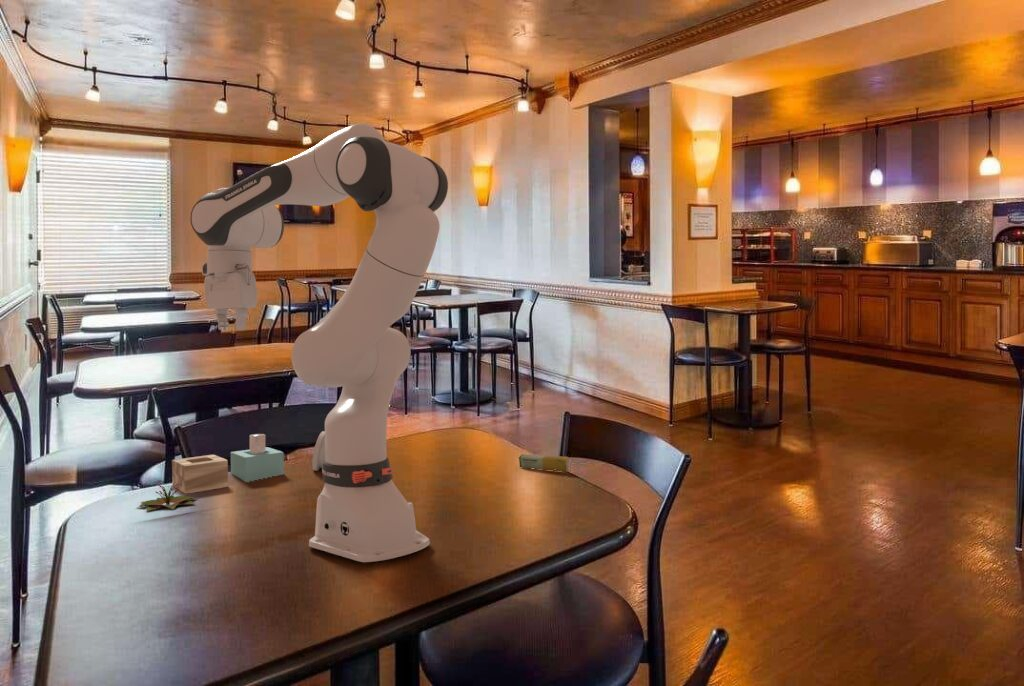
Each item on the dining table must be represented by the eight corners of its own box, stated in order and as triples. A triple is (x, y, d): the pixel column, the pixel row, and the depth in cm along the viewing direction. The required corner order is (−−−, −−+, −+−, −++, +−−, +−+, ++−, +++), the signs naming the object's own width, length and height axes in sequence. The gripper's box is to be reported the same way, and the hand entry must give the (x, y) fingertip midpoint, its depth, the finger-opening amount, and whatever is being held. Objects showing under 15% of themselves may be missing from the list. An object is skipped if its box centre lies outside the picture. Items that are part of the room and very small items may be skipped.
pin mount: (228, 486, 155) (227, 460, 155) (185, 493, 149) (185, 466, 149) (213, 479, 162) (213, 454, 161) (172, 486, 156) (171, 460, 155)
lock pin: (267, 473, 164) (268, 435, 164) (253, 475, 161) (253, 436, 161) (261, 470, 166) (261, 433, 166) (247, 472, 164) (247, 434, 164)
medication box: (519, 473, 168) (518, 456, 167) (523, 469, 170) (522, 453, 170) (566, 475, 163) (565, 459, 163) (569, 472, 166) (568, 455, 165)
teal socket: (283, 477, 164) (283, 452, 164) (245, 483, 158) (245, 457, 157) (268, 471, 170) (267, 447, 170) (231, 477, 164) (230, 452, 164)
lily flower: (138, 517, 132) (137, 494, 132) (131, 504, 142) (130, 482, 142) (205, 507, 139) (205, 485, 139) (194, 495, 149) (193, 474, 149)
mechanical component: (321, 466, 174) (327, 427, 174) (338, 469, 174) (344, 430, 174) (308, 475, 164) (314, 434, 164) (326, 478, 164) (333, 437, 164)
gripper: (264, 263, 143) (265, 330, 144) (227, 268, 158) (228, 329, 159) (233, 261, 139) (235, 330, 140) (198, 267, 154) (200, 329, 155)
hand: (231, 330), depth 149 cm, fingers open, 8 cm apart
